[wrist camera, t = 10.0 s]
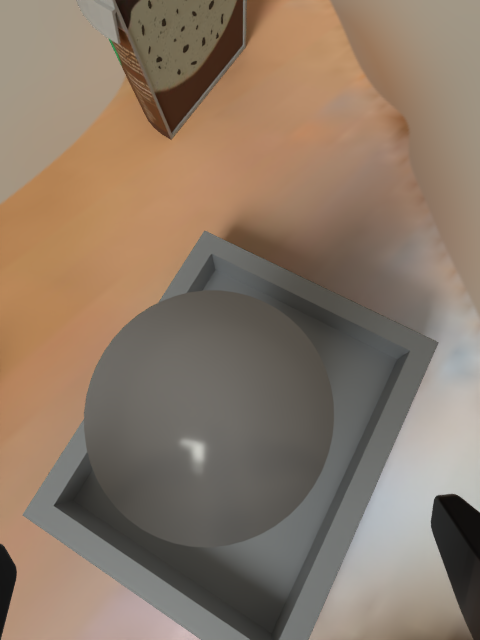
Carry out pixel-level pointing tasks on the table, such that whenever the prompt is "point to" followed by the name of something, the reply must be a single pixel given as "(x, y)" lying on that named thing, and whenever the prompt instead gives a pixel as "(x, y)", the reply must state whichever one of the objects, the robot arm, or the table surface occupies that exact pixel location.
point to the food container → (171, 50)
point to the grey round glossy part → (209, 418)
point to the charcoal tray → (307, 519)
